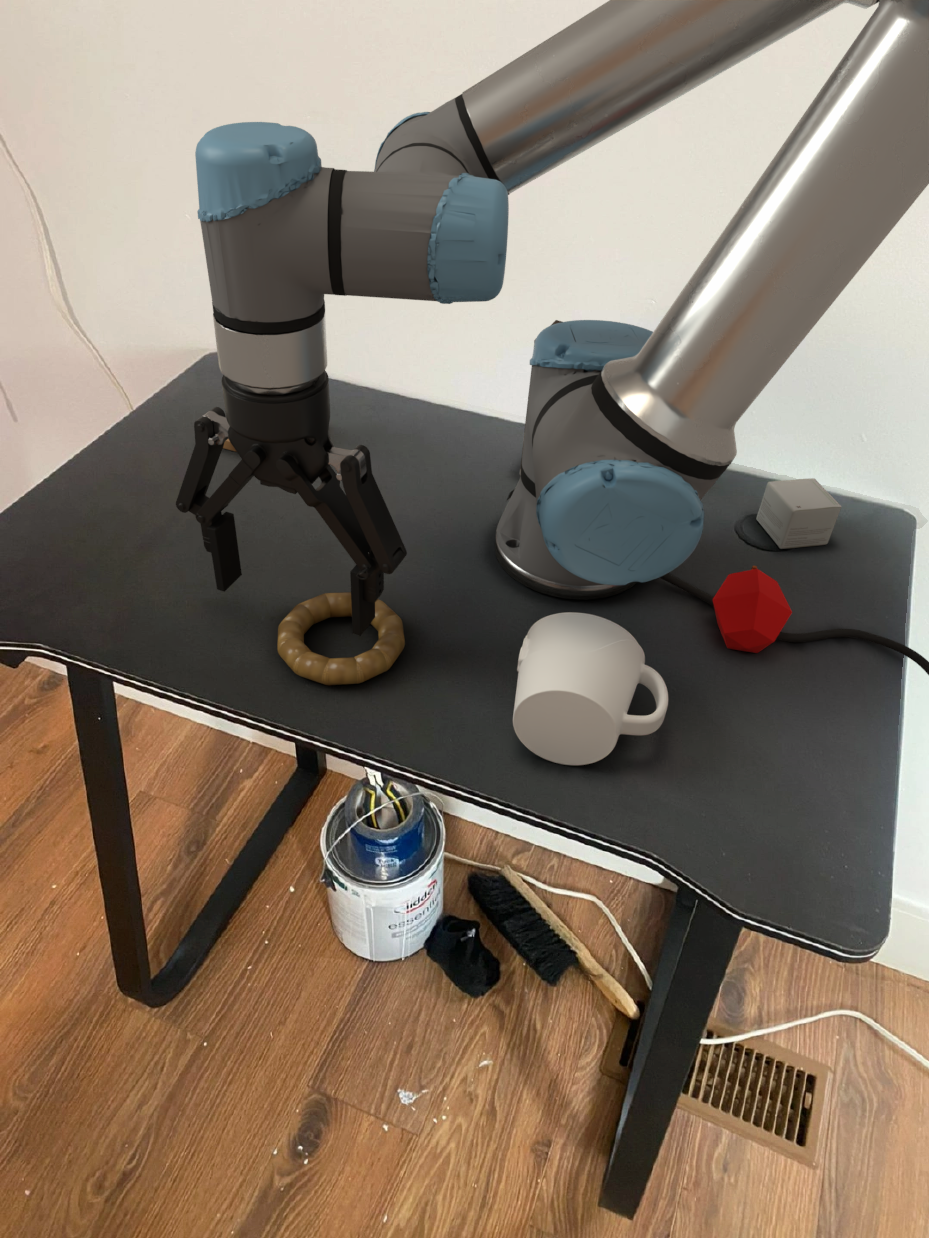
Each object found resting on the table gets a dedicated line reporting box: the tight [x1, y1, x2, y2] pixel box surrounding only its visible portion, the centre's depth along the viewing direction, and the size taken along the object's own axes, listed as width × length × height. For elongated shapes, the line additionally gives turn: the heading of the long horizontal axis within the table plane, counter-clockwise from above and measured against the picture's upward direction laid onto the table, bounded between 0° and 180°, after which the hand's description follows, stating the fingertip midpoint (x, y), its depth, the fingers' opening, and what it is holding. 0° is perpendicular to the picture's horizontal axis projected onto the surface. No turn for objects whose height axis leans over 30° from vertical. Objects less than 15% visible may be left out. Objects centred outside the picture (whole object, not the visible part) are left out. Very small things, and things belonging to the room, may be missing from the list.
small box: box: [755, 477, 843, 550], centre depth 95 cm, size 6×6×5 cm
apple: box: [712, 565, 793, 654], centre depth 82 cm, size 7×7×8 cm
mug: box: [512, 611, 669, 766], centre depth 72 cm, size 12×9×8 cm
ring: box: [276, 591, 406, 686], centre depth 79 cm, size 11×11×2 cm
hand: (295, 603), depth 79 cm, fingers open, 12 cm apart
